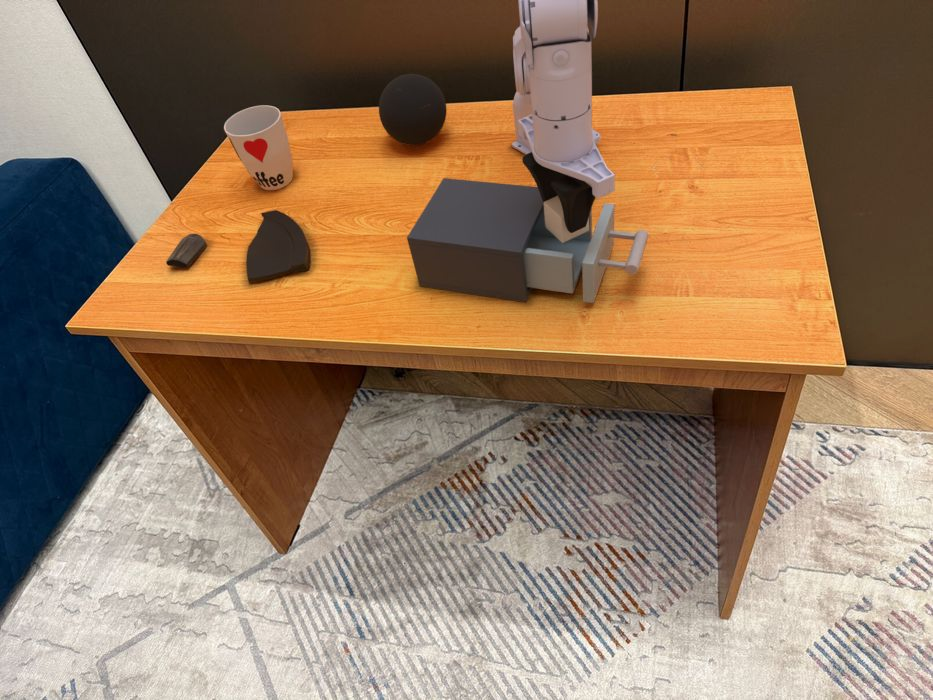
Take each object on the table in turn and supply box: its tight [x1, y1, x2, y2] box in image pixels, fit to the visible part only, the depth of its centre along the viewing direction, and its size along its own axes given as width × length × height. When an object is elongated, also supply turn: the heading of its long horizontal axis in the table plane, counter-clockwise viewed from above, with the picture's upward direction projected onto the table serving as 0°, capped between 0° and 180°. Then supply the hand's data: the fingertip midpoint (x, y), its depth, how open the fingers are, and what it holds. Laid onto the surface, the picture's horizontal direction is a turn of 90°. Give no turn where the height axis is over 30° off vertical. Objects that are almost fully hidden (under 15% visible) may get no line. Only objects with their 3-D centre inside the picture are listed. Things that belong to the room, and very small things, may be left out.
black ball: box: [378, 73, 447, 146], centre depth 103 cm, size 10×10×10 cm
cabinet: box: [406, 177, 544, 303], centre depth 83 cm, size 14×12×8 cm
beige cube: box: [544, 196, 589, 243], centre depth 76 cm, size 4×4×4 cm
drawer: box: [523, 202, 649, 304], centre depth 79 cm, size 17×10×6 cm, turn 70°
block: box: [165, 233, 208, 269], centre depth 95 cm, size 4×6×2 cm, turn 171°
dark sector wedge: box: [245, 209, 312, 284], centre depth 93 cm, size 8×14×2 cm, turn 9°
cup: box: [223, 104, 294, 191], centre depth 101 cm, size 8×8×10 cm
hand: (566, 219), depth 76 cm, fingers closed on beige cube, 3 cm apart
